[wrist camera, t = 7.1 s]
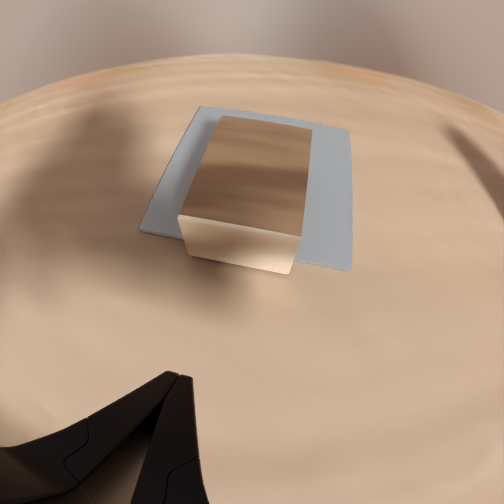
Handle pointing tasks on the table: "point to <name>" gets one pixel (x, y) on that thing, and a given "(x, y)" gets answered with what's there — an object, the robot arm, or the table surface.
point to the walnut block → (249, 195)
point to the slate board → (317, 196)
